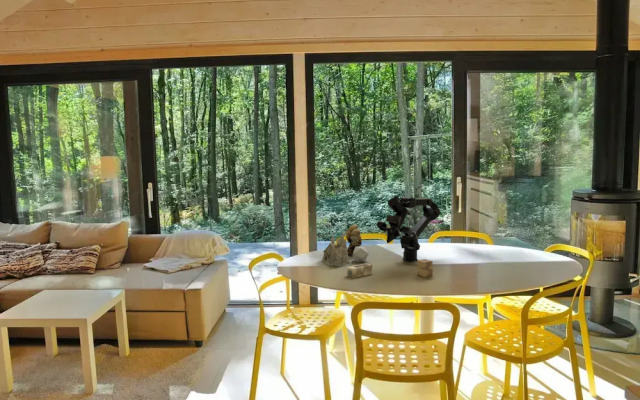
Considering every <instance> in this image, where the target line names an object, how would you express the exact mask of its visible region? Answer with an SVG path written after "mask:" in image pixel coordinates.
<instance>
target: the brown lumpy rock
mask: <svg viewBox="0 0 640 400" xmlns="http://www.w3.org/2000/svg"><path fill="white" fill-rule="evenodd" d="M345 239H346V242H347V243H348V244H349V245H348V247H347V249H346V251H347V252H348V257H353V252H354V249H355V247H362V244H363V239H362V235H361V230H360V229H359V227H358V225H357V224H352V225H350V226H349V228H348V229H347V230H346V232H345Z"/></svg>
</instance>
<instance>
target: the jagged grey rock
mask: <svg viewBox="0 0 640 400" xmlns="http://www.w3.org/2000/svg"><path fill="white" fill-rule="evenodd" d="M330 239H331V240H330V243H328V245H327V247H325V249H324V250H323V251H322V252H323V254H322V255H323V256H322V259H321V262H322V263H324V264H326V265H327V266H329V267H330V266H331V267H343V266H346V264H347V265H349V264H350V256H349V255H348V252H347V251H346V250H347V249H348V247H347V238H345V236H344V234H341V236H340V237H339V238H337V241H336V244H335V238H334V237H331V238H330Z"/></svg>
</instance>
